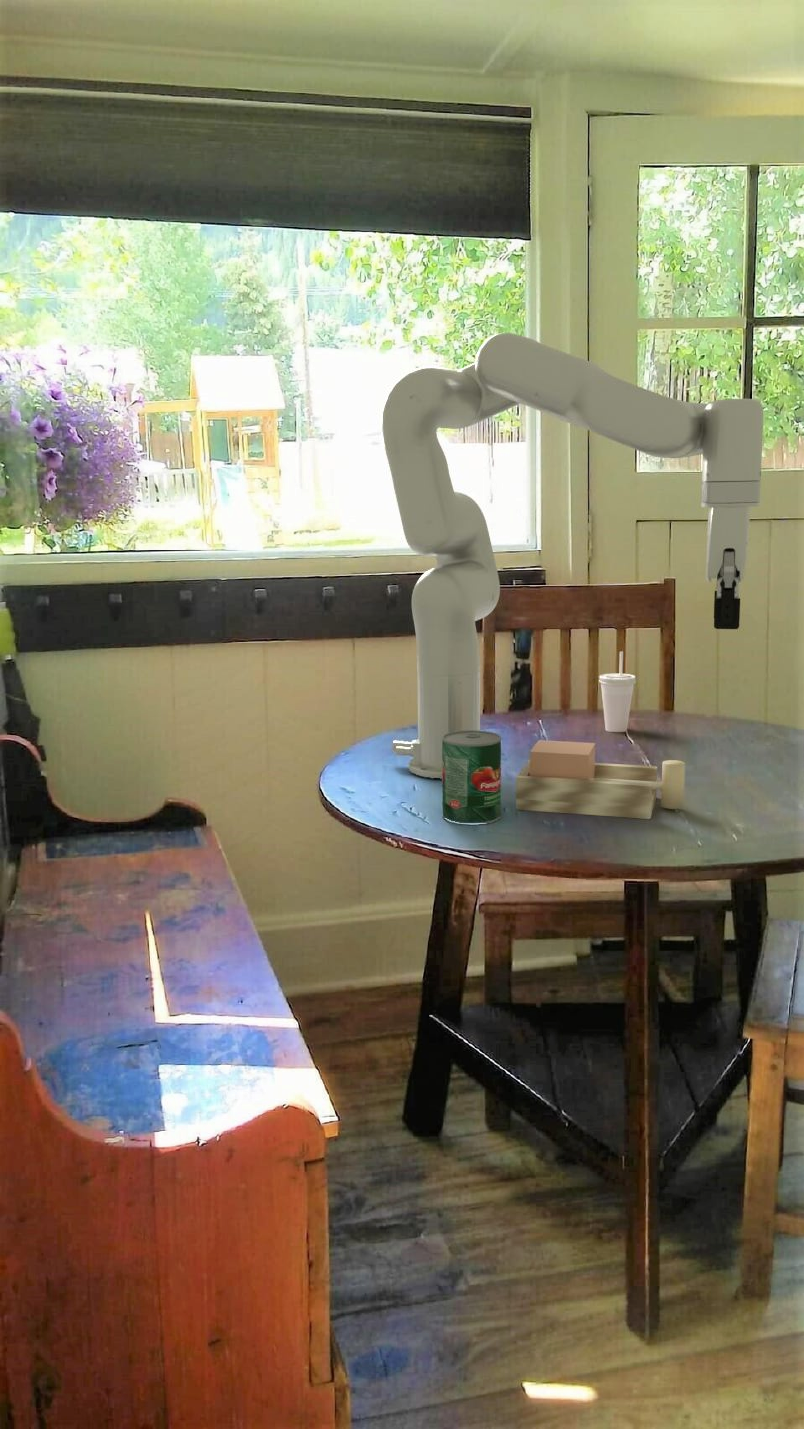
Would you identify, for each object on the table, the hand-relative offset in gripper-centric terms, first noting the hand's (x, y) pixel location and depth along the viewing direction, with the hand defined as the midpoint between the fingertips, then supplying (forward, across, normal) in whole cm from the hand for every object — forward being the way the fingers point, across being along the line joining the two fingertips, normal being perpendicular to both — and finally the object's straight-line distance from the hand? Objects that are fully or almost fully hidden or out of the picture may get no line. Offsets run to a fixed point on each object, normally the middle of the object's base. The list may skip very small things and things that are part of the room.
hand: (725, 624), depth 156 cm
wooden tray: (+24, +6, -19) cm, 31 cm away
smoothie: (+25, -41, -18) cm, 51 cm away
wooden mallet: (+24, +6, -15) cm, 29 cm away
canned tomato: (+25, +16, -32) cm, 43 cm away
